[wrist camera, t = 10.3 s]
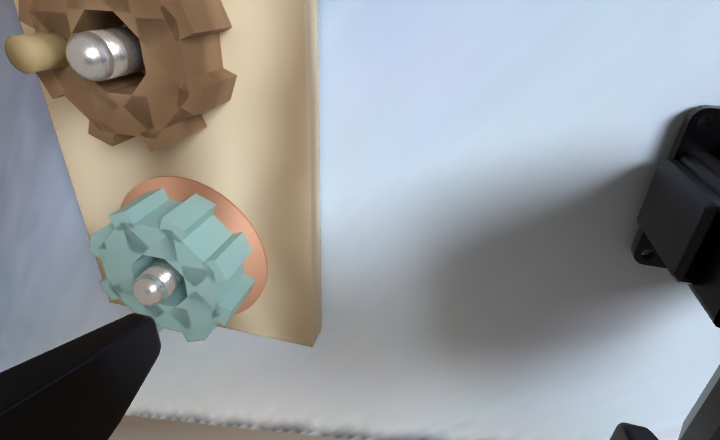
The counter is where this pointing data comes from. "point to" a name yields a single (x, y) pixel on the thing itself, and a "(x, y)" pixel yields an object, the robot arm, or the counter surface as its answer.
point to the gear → (136, 91)
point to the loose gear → (176, 261)
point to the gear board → (234, 164)
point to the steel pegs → (106, 61)
